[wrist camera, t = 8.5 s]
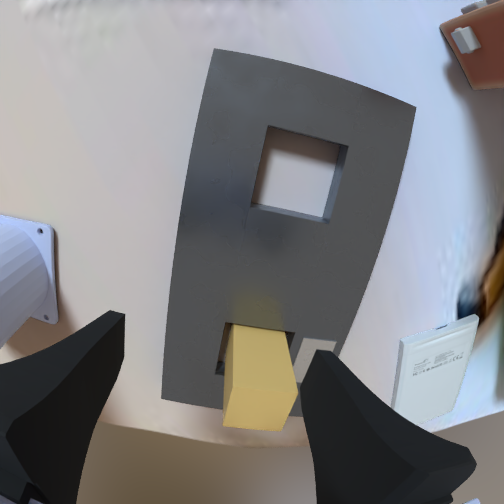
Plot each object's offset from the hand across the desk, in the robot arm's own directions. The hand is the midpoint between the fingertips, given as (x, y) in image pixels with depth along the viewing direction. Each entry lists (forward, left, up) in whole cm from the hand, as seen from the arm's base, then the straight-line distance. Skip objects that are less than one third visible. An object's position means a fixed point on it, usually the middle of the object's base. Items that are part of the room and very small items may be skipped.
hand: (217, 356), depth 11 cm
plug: (+3, -5, -9) cm, 11 cm away
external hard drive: (+21, -8, -10) cm, 25 cm away
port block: (+3, 0, -9) cm, 10 cm away
